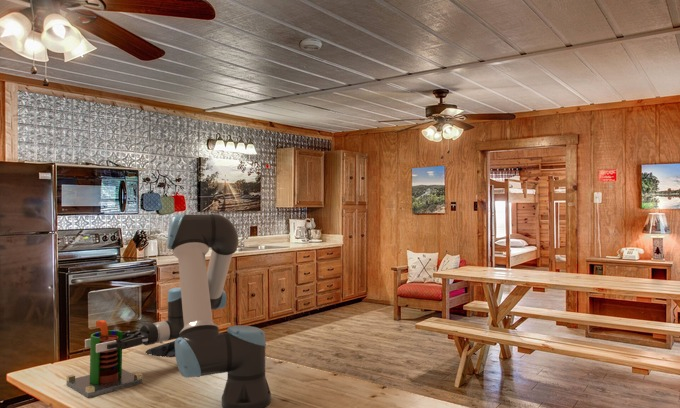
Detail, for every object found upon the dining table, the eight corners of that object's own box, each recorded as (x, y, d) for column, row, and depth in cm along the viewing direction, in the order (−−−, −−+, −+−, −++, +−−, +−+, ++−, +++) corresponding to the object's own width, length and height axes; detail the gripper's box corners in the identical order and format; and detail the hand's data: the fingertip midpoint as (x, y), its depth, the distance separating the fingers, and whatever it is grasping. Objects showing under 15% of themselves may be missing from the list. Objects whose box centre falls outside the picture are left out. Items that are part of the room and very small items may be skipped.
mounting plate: (142, 382, 168) (142, 374, 168) (88, 398, 154) (88, 388, 154) (118, 371, 180) (119, 363, 180) (66, 384, 166) (66, 376, 166)
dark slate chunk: (204, 345, 217) (204, 334, 217) (170, 359, 196) (170, 347, 196) (177, 341, 222) (177, 331, 222) (141, 355, 202) (141, 343, 202)
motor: (105, 385, 161) (106, 325, 162) (82, 383, 163) (83, 323, 163) (125, 375, 171) (126, 318, 171) (103, 373, 173) (103, 317, 173)
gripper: (168, 348, 174) (104, 363, 157) (140, 338, 188) (78, 351, 170) (168, 327, 174) (104, 340, 157) (140, 319, 188) (78, 330, 171)
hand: (90, 346), depth 164 cm, fingers open, 8 cm apart
